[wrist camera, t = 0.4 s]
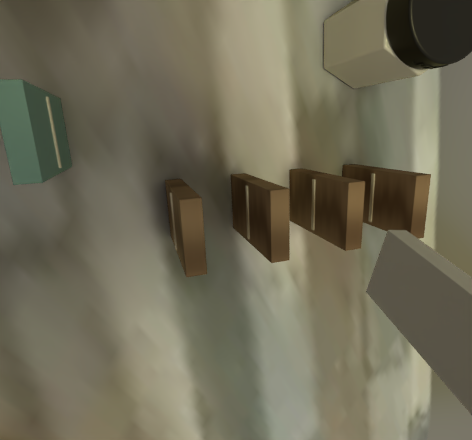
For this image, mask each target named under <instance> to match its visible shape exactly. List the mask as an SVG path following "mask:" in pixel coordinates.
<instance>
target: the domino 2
mask: <svg viewBox="0 0 472 440" xmlns="http://www.w3.org/2000/svg"><path fill="white" fill-rule="evenodd" d="M231 191H232V212H233V228H234V229H235V230H236V231H237V232H239V233H240V234H241V235H242V236H243V237H244V238H245V239H246V240H247V241H248V242H249V243H250V244H252V245H253V246H254V247H255V248H256V249H257V250H258V251H259V252H260V253H261V254H262V255H263V256H265V257H266V258H267V259H268V260H269V261H270V262H271V263H275V262H281V261H287V260H289V189H288V188H285V187H282V186H280V185H277V184H274V183H271V182H268V181H265V180H262V179H259V178H256V177H254V176H251V175H248V174H245V173H244V174H232V175H231Z"/></svg>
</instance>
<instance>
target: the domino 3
mask: <svg viewBox="0 0 472 440" xmlns="http://www.w3.org/2000/svg"><path fill="white" fill-rule="evenodd" d="M364 191H365V181H361V180H356V179H351V178H346V177H341V176H336V175H332V174H327V173H322V172H317V171H312V170H307V169H291V170H290V221H292V222H294V223H295V224H297V225H299V226H301V227H303V228H305V229H306V230H308V231H310V232H312V233H314V234H316V235H318V236H319V237H321V238H323V239H325V240H327V241H329V242H330V243H332V244H334V245H336V246H338V247H340V248H341V249H343V250H345V251H347V250H353V249H359V248H361V240H362V223H363V207H364Z"/></svg>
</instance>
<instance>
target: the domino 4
mask: <svg viewBox="0 0 472 440" xmlns="http://www.w3.org/2000/svg"><path fill="white" fill-rule="evenodd" d="M342 177H346V178H351V179H356V180H361V181H365V191H364V207H363V222H364V223H367V224H369V225H372V226H375V227H377V228H380V229H382V230H385V231H388V230H407V231H408V232H409V233H411V234H412V235H414V236H415V237H416V238H424V230H425V221H426V212H427V204H428V195H429V186H430V177H431V174H423V173H416V172H408V171H401V170H393V169H386V168H379V167H371V166H364V165H356V164H351V165H343V171H342Z"/></svg>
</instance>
